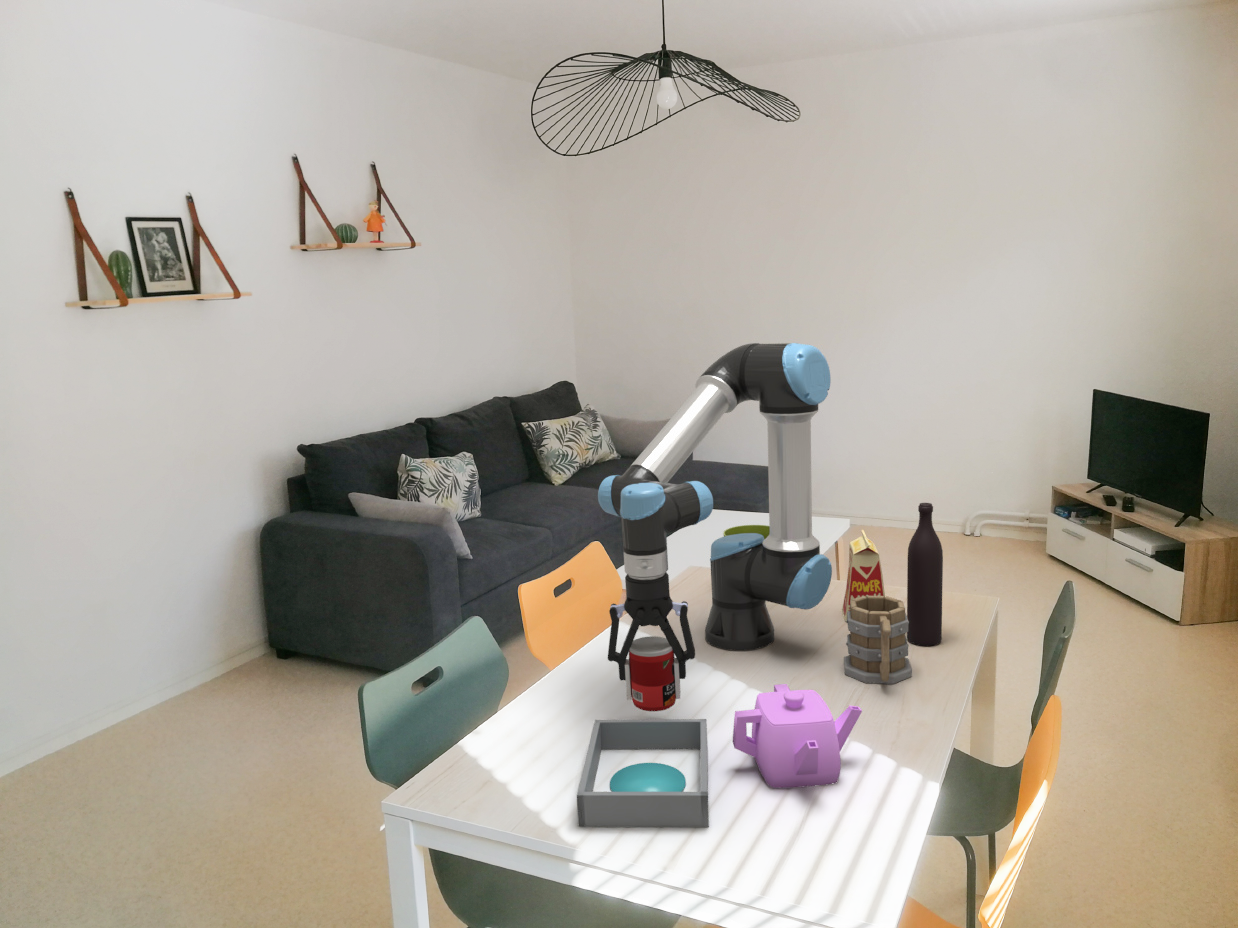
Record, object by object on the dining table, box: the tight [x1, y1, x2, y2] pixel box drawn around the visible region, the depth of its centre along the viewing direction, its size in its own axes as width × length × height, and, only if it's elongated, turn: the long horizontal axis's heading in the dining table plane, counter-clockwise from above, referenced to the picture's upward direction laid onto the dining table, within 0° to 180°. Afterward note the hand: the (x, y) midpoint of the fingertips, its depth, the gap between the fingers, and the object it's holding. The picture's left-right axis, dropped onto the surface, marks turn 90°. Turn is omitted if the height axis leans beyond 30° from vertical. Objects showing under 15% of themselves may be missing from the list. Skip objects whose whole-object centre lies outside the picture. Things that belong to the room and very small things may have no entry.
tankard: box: [843, 595, 913, 685], centre depth 180 cm, size 20×13×15 cm, turn 169°
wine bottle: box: [906, 502, 944, 647], centre depth 196 cm, size 7×7×30 cm
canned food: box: [628, 635, 677, 712], centre depth 164 cm, size 8×8×11 cm
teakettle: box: [732, 683, 863, 789], centre depth 149 cm, size 17×17×12 cm
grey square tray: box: [576, 718, 710, 828], centre depth 147 cm, size 24×19×5 cm
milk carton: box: [841, 529, 886, 623], centre depth 213 cm, size 9×9×20 cm
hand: (653, 695), depth 165 cm, fingers closed on canned food, 8 cm apart
